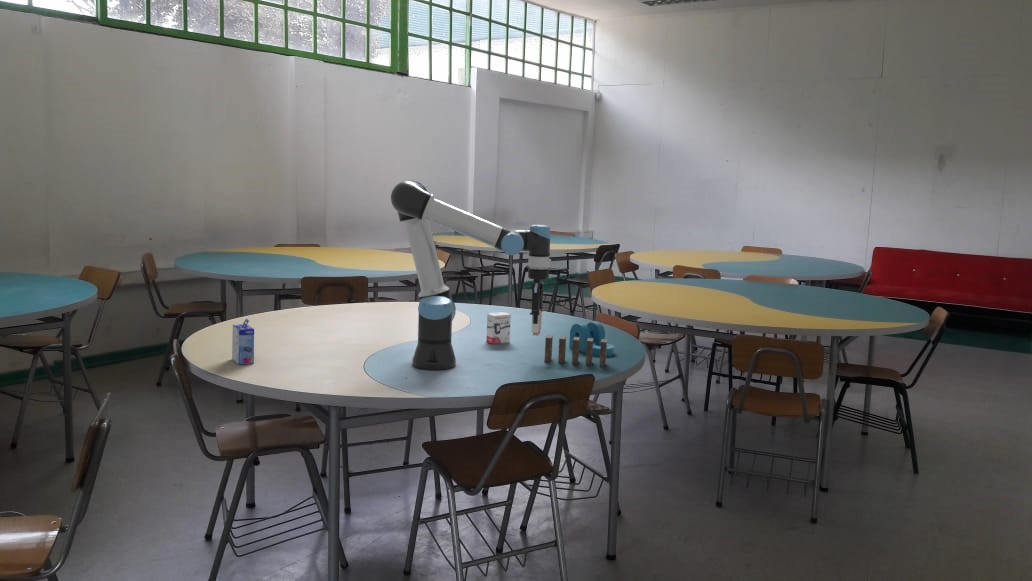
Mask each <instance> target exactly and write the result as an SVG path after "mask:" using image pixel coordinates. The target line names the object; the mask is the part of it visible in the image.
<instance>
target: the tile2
mask: <svg viewBox="0 0 1032 581" xmlns="http://www.w3.org/2000/svg"><path fill="white" fill-rule="evenodd" d="M553 338H554V336H553V335H552V334H547V335H546V337H545V341H544V342H545V343H544V344H545V346H544V363H550V362H551V361H552V356H553Z"/></svg>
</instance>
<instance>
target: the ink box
mask: <svg viewBox="0 0 1032 581" xmlns="http://www.w3.org/2000/svg"><path fill="white" fill-rule="evenodd" d="M511 318H512V315H511V314H510V313H508V312H506V311H505V312H504V311H500V312H499V311H498V312H489V313H487V314H486V341H485V342H486V343H488V344H491V345H497V344H498V343H499V344H506V343H507V344H508V343H510V342H511Z"/></svg>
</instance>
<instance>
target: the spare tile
mask: <svg viewBox="0 0 1032 581" xmlns="http://www.w3.org/2000/svg"><path fill="white" fill-rule="evenodd" d="M539 315H540V320H541V309H539ZM540 334H541V330H540V323H539V333H536V332H532V336H539V335H540Z"/></svg>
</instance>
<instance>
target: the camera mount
mask: <svg viewBox="0 0 1032 581" xmlns="http://www.w3.org/2000/svg"><path fill="white" fill-rule="evenodd" d="M569 330H570V331H569V348H570V349H572V350H573V339H574V337H580V342H579V352H582V353H585V354H586V349H587V339H588V338H593V354H592V356H594V357H600V349H601V339H606V330H605V328H604V325H603V324H602V323H601V322H599V321H592V322H588V323H587V324H585V323H584V322H583V323H574V324H573V325H572V326H571V328H570V329H569ZM614 352H615V346H614V345H613V344H611V343H607V349H606V357H611V356H614V354H615V353H614Z"/></svg>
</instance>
